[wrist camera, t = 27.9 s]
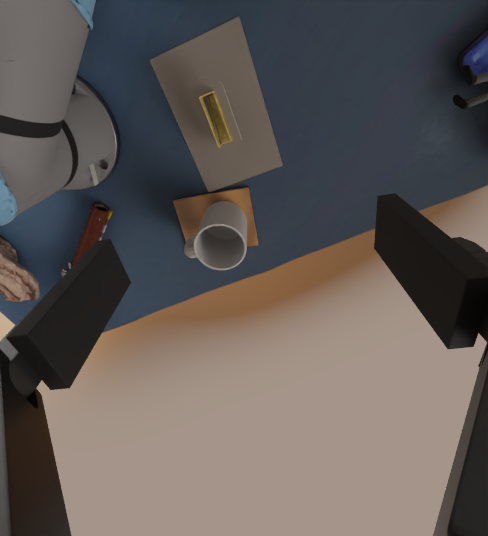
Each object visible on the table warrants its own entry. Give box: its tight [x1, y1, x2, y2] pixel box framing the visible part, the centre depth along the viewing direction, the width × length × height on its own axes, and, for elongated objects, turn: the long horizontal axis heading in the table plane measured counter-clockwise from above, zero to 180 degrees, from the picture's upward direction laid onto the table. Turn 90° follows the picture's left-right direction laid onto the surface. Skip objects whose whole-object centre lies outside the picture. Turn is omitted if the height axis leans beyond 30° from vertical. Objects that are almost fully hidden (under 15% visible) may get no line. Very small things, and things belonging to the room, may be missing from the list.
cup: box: [184, 201, 247, 270], centre depth 44 cm, size 7×10×9 cm
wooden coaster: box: [173, 187, 258, 247], centre depth 48 cm, size 12×10×1 cm
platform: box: [150, 17, 283, 193], centre depth 37 cm, size 12×18×7 cm, turn 20°
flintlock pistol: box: [61, 202, 113, 276], centre depth 52 cm, size 25×4×10 cm
